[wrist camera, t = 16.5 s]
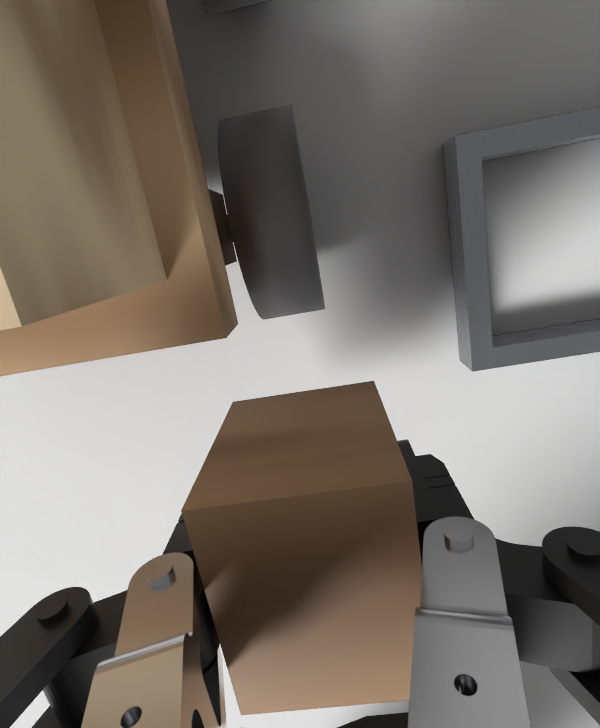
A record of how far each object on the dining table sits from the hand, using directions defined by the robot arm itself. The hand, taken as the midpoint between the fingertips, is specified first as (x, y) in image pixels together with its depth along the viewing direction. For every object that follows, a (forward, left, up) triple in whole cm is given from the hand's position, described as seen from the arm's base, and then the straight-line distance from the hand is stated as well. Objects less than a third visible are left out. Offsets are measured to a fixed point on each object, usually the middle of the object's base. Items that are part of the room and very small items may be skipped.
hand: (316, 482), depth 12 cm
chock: (0, 0, -1) cm, 1 cm away
